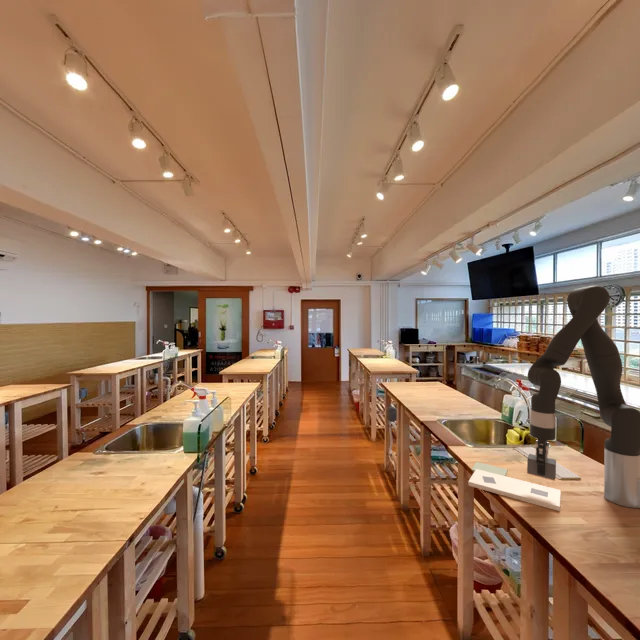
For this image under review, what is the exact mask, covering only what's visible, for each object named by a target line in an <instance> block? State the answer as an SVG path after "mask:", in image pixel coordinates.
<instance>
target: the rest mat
mask: <svg viewBox="0 0 640 640" xmlns="http://www.w3.org/2000/svg"><path fill="white" fill-rule="evenodd" d="M476 469H478V470H482V471H486V472H490V473H494V474H498V475H502V476H506V475H507V472H508V469H507V468H504V467H499V466H496V465H491V464H488V463H487V464H486V463H483V462H479V461H476V462H475V464H473V466H472V467H471V471H472V472H475V470H476ZM506 477H507V476H506Z"/></svg>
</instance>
